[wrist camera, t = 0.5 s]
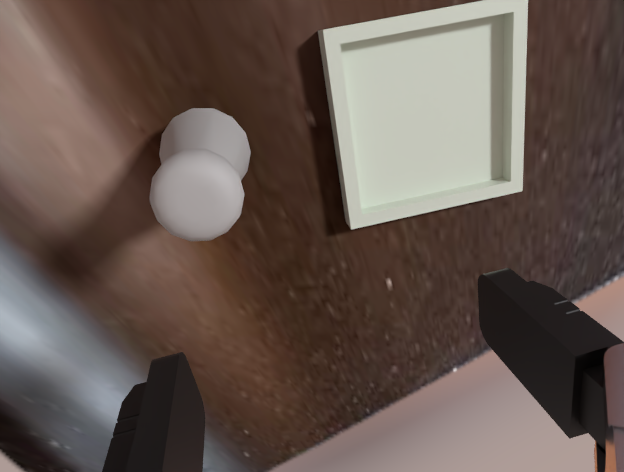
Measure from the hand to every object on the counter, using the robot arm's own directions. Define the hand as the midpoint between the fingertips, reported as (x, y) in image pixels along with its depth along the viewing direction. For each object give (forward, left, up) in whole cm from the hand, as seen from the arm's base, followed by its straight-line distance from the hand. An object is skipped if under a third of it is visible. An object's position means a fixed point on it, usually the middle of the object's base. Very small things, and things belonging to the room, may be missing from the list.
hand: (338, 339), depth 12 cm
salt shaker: (-1, -4, -23) cm, 24 cm away
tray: (0, +12, -23) cm, 26 cm away
